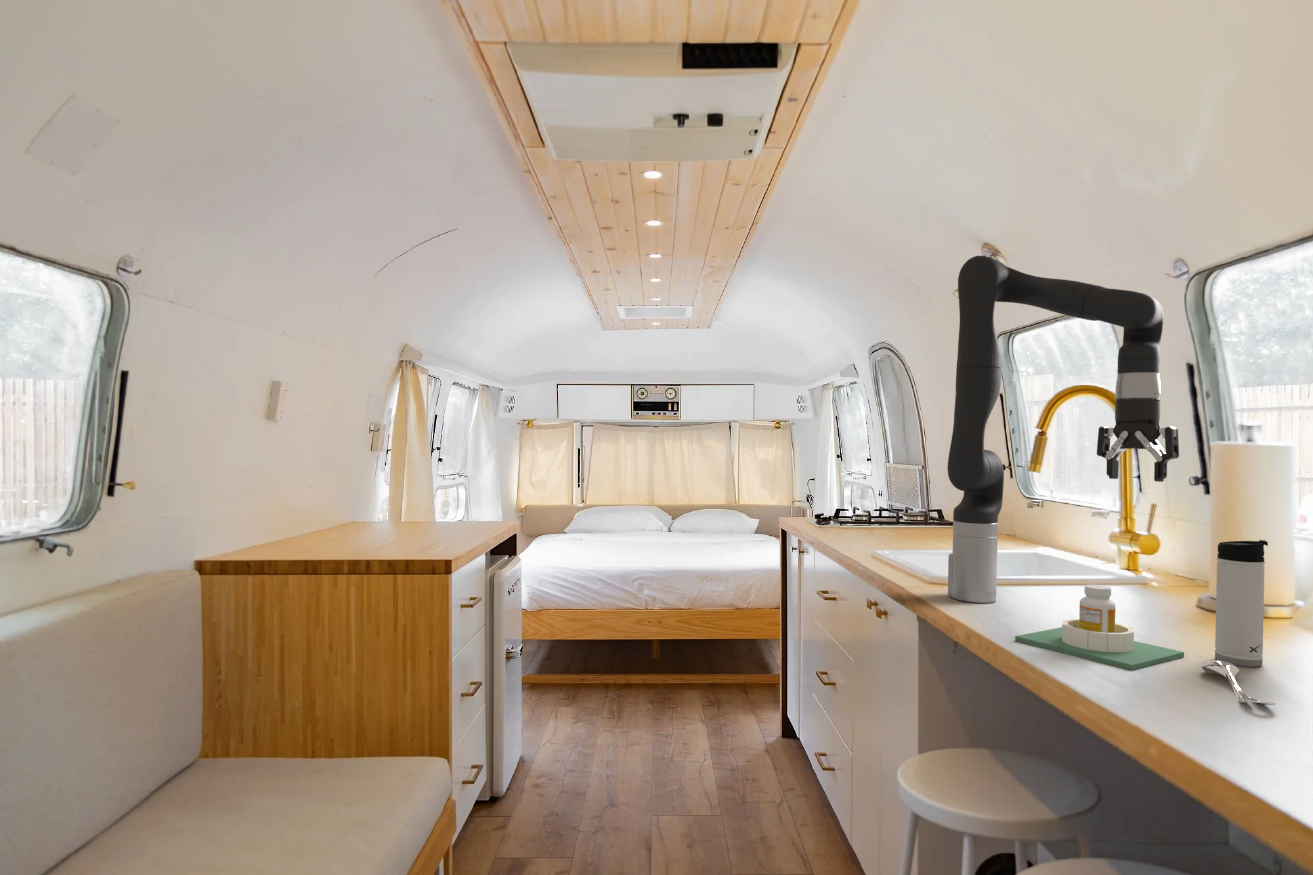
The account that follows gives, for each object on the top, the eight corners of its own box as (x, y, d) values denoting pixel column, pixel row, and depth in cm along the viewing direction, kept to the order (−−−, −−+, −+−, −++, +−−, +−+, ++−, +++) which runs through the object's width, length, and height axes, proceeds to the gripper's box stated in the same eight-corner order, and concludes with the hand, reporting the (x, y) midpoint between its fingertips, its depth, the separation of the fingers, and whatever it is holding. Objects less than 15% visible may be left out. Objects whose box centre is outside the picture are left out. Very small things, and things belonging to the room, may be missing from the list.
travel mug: (1267, 670, 125) (1270, 542, 125) (1216, 663, 128) (1218, 539, 128) (1262, 660, 130) (1265, 539, 130) (1213, 654, 134) (1216, 535, 134)
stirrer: (1287, 688, 104) (1244, 684, 105) (1287, 716, 103) (1244, 711, 105) (1231, 658, 122) (1196, 655, 124) (1231, 681, 122) (1196, 678, 124)
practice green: (1015, 640, 140) (1015, 619, 140) (1067, 630, 149) (1067, 610, 149) (1132, 670, 123) (1132, 645, 123) (1184, 656, 132) (1184, 633, 132)
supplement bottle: (1105, 639, 139) (1106, 584, 139) (1120, 648, 133) (1122, 590, 133) (1073, 638, 139) (1074, 583, 139) (1087, 646, 134) (1088, 589, 134)
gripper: (1090, 397, 159) (1088, 478, 159) (1166, 395, 147) (1165, 482, 147) (1111, 398, 163) (1109, 477, 163) (1187, 396, 151) (1185, 482, 151)
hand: (1135, 480), depth 155 cm, fingers open, 8 cm apart
